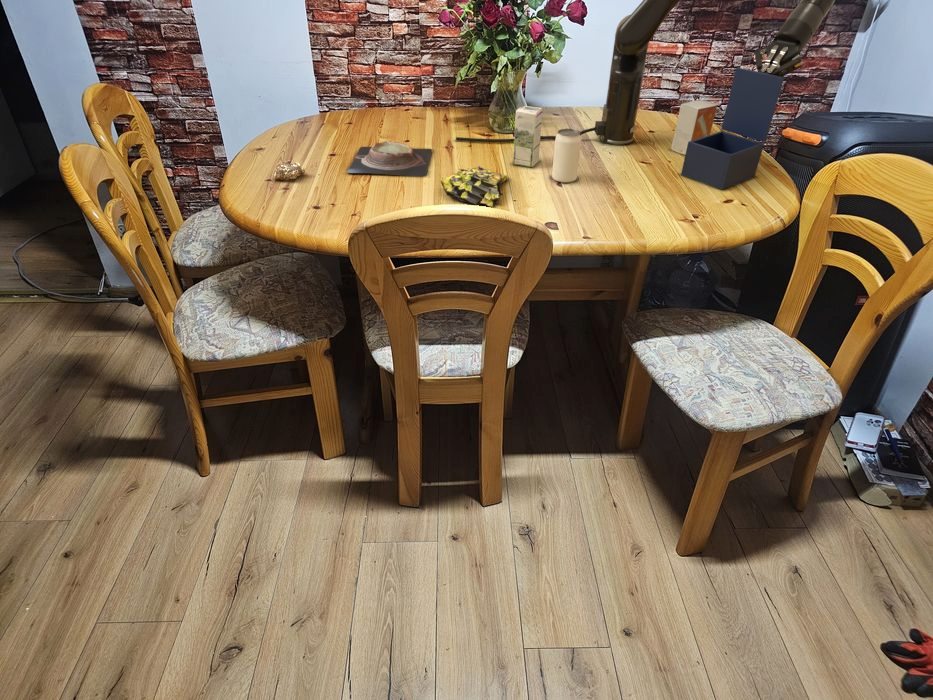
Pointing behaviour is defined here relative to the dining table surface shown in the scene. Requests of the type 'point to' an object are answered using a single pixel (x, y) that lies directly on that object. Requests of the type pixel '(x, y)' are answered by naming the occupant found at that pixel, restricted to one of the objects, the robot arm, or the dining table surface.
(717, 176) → the case
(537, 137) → the syrup box
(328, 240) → the dining table surface
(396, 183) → the dining table surface
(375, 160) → the quiche
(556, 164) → the can
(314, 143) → the dining table surface
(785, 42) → the robot arm
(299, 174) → the beige lumpy piece
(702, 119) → the small box
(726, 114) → the case lid
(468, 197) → the banana patterned fabric
